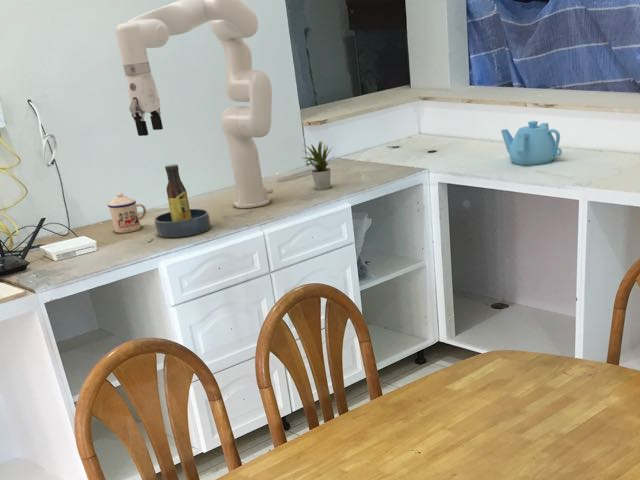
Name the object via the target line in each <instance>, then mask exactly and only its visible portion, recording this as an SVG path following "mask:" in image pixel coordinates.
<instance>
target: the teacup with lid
mask: <svg viewBox="0 0 640 480" xmlns="http://www.w3.org/2000/svg"><path fill="white" fill-rule="evenodd" d="M107 207H108V209H109V213H110V218H111V220H112V221H111V222H112V225H113V229H114V231H115V232H116V233H119V234H127V233H132V232H136V231H138V230H140V229H141V228H142V225H141V220H144V218H145V217H146V215H147V208H146V206H145V205H144V204H142V203H137V201H136V200H135V199H134V198H133V197H128V196H126V195H124V193H122V192H117V193H116V197H114V198H113V199H112V200H110V201H109V202H108V203H107ZM137 207H141V208H142V209H143V213H142V215H141V216H139V213H138V208H137Z"/></svg>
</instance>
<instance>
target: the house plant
mask: <svg viewBox="0 0 640 480" xmlns="http://www.w3.org/2000/svg"><path fill="white" fill-rule="evenodd" d="M323 143H324V142H323V141H321V140H320V141H319V142H318V146H317V149H316V148H315V146H314V145H313V144H311V148H310V147H309V146H308V145H304V144H303V146H305V147H306V148H307V149H308V150H309V151H306V150H304V149H303V152H305V153H306V154H307V155H308V156H305V157H302V159H304V160H305V166H306V167H307V168H308V167H309V166H310V165H311V166H312V167H313V168H314V169H312V170H311V171H310V172H311V176H312V179H313V183H314V186H315V190H316V191H317V190H320V191H322V190H323V191H324V190H327V189H328V190H329V189H330V188H331V171H332V170H331V168H328V167H327V166H328V165H330V162H329V161H330V160H331V159H332V158H335V156H332V157H330V158H329V159H328V160H327V157H328V155H329V153H330V152H331V150H332V148H333V147H331V148H330V149H329V148H328V146H329V144H327V145H326V144H324V146H323ZM322 147H323V150H322ZM328 149H329V150H328Z"/></svg>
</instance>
